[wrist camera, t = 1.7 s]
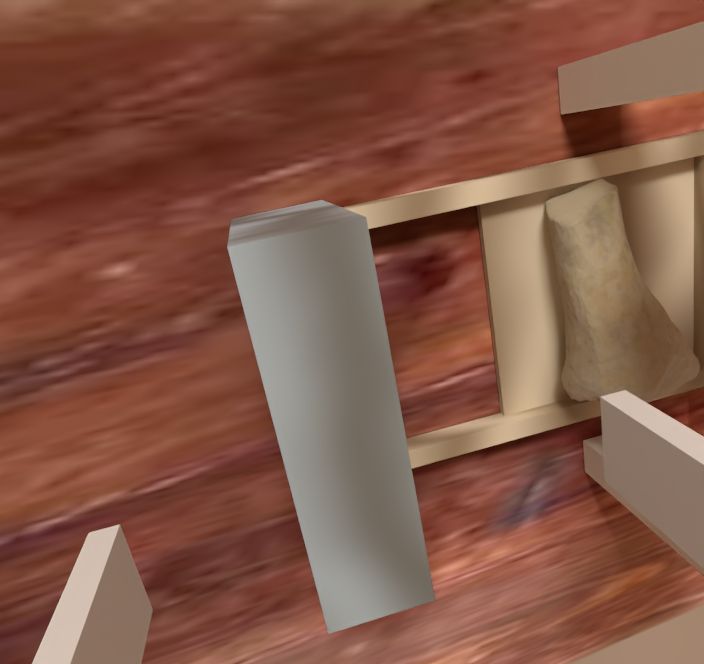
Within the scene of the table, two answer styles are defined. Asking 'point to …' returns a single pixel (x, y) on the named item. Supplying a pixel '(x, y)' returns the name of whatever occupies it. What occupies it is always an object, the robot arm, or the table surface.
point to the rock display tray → (376, 362)
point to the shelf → (623, 88)
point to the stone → (610, 304)
